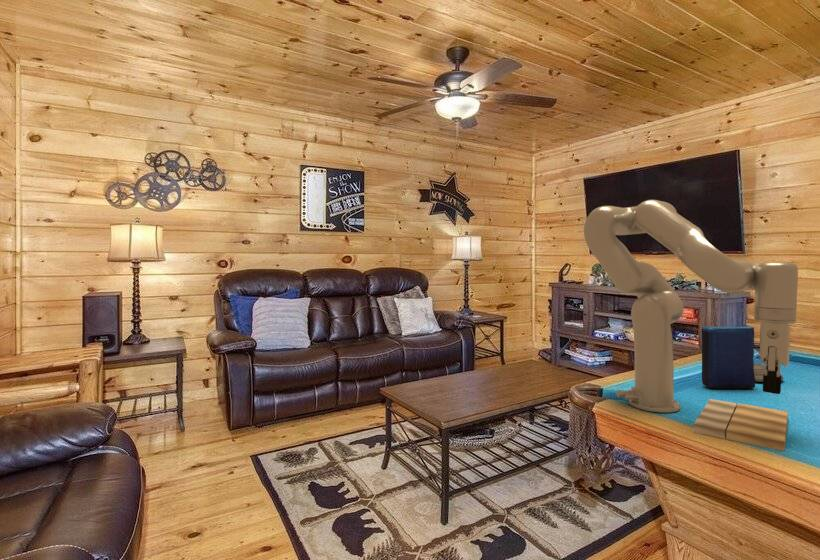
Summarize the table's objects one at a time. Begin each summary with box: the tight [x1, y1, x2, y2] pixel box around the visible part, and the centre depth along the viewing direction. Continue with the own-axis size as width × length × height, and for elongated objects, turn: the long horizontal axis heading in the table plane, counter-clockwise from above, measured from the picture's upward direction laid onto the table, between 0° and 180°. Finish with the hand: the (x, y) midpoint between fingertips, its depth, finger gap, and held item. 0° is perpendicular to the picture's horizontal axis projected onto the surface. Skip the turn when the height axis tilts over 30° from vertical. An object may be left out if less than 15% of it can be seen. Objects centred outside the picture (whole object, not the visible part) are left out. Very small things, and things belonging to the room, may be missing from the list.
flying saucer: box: [754, 362, 785, 383], centre depth 146 cm, size 15×15×6 cm
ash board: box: [693, 398, 738, 439], centre depth 109 cm, size 24×6×2 cm, turn 137°
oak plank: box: [725, 403, 789, 452], centre depth 103 cm, size 24×10×2 cm, turn 137°
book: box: [701, 324, 756, 389], centre depth 135 cm, size 14×5×20 cm, turn 84°
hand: (771, 392), depth 102 cm, fingers closed
